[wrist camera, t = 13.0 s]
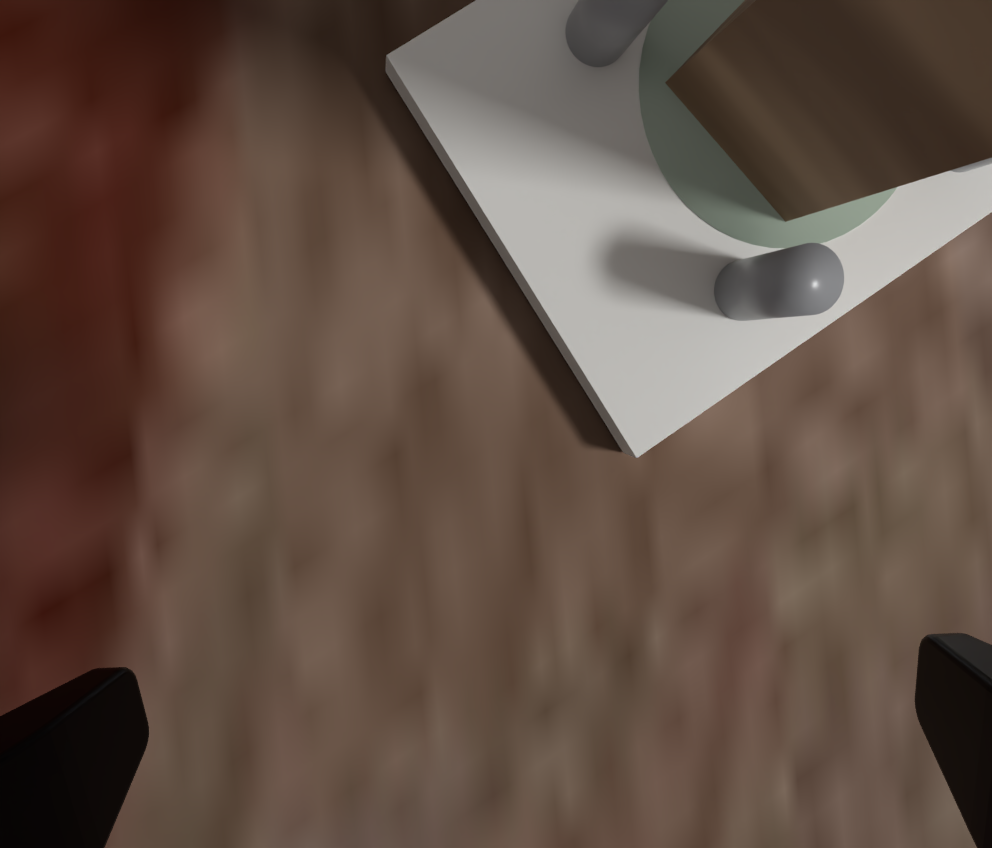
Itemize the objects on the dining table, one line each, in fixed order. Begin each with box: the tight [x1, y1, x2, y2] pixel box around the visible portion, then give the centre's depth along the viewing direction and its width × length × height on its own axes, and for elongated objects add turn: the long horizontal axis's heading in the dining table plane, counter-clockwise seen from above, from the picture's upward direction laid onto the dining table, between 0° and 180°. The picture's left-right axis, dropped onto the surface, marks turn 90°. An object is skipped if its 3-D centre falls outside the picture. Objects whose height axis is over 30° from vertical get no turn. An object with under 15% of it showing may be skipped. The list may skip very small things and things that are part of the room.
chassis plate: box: [385, 0, 992, 458], centre depth 18 cm, size 16×11×4 cm
